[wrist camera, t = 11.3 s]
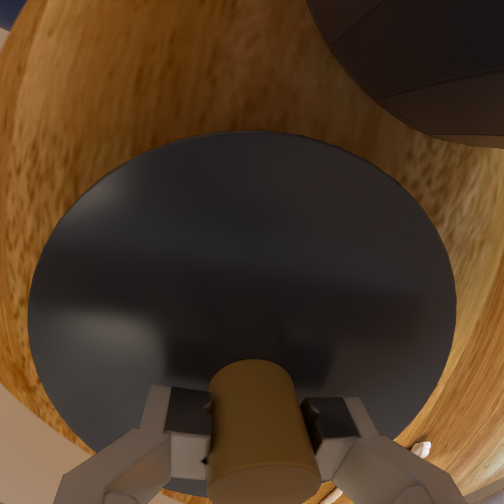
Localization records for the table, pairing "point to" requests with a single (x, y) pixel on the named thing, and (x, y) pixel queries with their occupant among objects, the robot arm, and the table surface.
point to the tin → (425, 61)
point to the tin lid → (242, 301)
